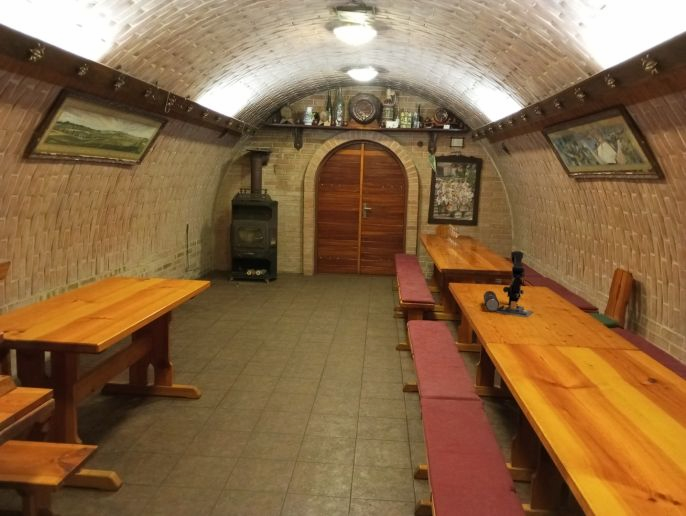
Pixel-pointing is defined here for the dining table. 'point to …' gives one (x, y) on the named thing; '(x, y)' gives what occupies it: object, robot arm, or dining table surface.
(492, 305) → the muzzle brake
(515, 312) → the grey flat frame
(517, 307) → the box
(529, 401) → the dining table surface
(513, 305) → the toggle
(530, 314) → the panel
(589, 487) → the dining table surface
